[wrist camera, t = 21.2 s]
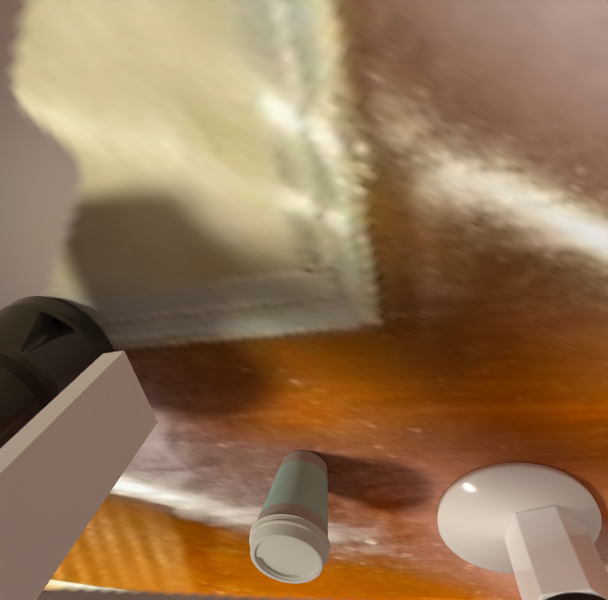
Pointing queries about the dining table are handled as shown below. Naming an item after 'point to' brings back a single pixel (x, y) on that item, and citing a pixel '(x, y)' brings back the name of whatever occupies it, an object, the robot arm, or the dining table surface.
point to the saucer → (507, 508)
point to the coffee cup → (294, 521)
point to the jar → (554, 557)
